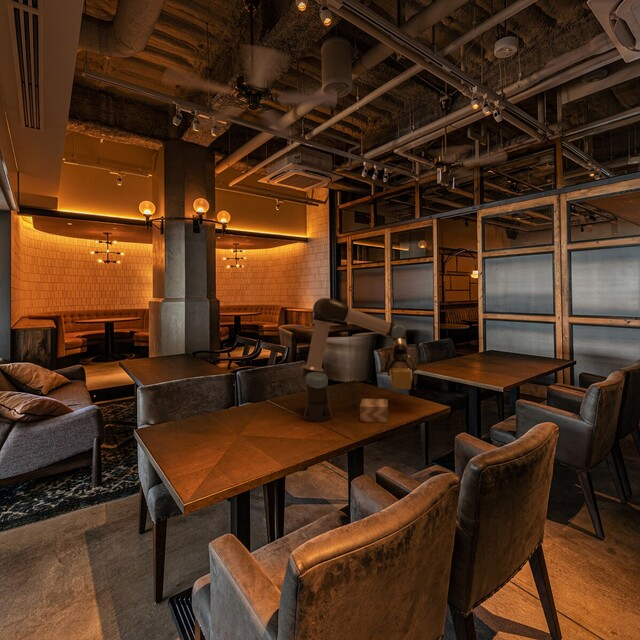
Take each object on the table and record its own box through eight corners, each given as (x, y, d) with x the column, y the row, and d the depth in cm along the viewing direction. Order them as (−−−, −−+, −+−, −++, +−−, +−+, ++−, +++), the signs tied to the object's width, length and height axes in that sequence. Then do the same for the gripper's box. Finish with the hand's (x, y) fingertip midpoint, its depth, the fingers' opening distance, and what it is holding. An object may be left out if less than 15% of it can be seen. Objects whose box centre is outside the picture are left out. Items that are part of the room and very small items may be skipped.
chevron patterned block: (360, 421, 192) (359, 406, 191) (362, 412, 206) (361, 398, 205) (387, 422, 189) (387, 406, 189) (388, 413, 203) (387, 399, 203)
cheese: (409, 384, 212) (409, 367, 211) (411, 389, 201) (411, 371, 200) (390, 384, 213) (390, 367, 212) (392, 389, 202) (391, 371, 202)
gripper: (419, 352, 220) (422, 384, 205) (380, 351, 224) (379, 383, 210) (420, 344, 214) (422, 377, 200) (379, 344, 218) (379, 376, 204)
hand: (400, 380), depth 205 cm, fingers closed on cheese, 10 cm apart
